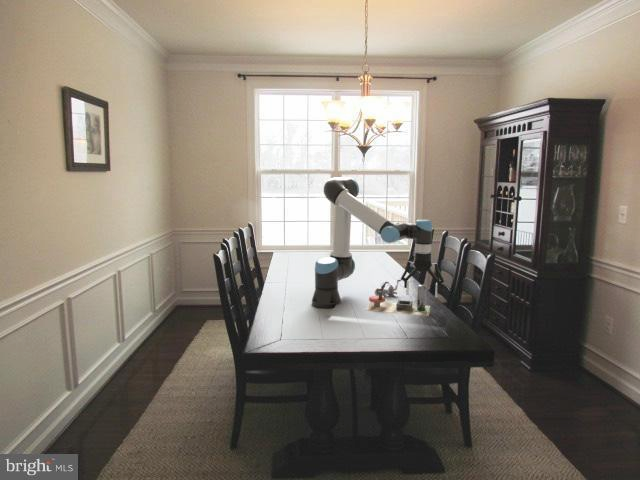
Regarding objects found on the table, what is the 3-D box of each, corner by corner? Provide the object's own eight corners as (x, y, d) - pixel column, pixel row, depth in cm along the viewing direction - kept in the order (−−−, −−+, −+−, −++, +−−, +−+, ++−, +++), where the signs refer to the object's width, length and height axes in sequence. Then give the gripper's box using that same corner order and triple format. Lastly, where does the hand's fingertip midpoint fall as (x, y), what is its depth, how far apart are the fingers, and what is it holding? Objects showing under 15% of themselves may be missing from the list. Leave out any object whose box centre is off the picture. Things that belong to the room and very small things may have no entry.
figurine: (400, 304, 244) (375, 302, 239) (394, 296, 252) (369, 295, 247) (406, 285, 240) (381, 283, 235) (399, 278, 248) (374, 276, 243)
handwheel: (374, 309, 220) (374, 293, 219) (366, 304, 228) (366, 289, 227) (388, 307, 224) (388, 291, 222) (380, 303, 231) (380, 287, 230)
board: (365, 313, 220) (365, 304, 219) (370, 303, 235) (371, 295, 234) (428, 319, 211) (428, 309, 210) (430, 308, 226) (430, 300, 226)
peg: (416, 310, 218) (417, 286, 216) (417, 308, 222) (418, 284, 220) (425, 311, 217) (426, 286, 215) (425, 308, 221) (426, 284, 219)
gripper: (395, 252, 215) (394, 295, 218) (450, 255, 208) (448, 299, 211) (397, 249, 222) (396, 291, 226) (450, 252, 215) (448, 295, 218)
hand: (421, 295), depth 218 cm, fingers open, 13 cm apart
